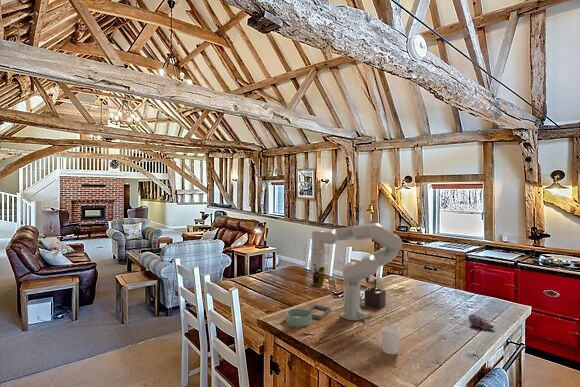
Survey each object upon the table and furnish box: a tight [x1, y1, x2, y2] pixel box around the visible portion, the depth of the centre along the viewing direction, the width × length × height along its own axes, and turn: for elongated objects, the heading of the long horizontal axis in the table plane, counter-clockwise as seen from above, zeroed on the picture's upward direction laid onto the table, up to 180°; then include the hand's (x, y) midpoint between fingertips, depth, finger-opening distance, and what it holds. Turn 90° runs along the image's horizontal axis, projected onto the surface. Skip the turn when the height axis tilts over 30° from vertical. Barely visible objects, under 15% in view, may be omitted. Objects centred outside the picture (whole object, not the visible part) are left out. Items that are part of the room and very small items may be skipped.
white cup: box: [381, 325, 400, 355], centre depth 148 cm, size 8×8×10 cm
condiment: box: [306, 266, 326, 290], centre depth 192 cm, size 7×8×12 cm
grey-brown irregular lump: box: [468, 313, 495, 330], centre depth 175 cm, size 12×8×6 cm, turn 40°
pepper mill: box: [363, 277, 387, 309], centre depth 210 cm, size 16×11×18 cm
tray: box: [306, 304, 332, 321], centre depth 193 cm, size 11×15×2 cm
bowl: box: [285, 307, 313, 327], centre depth 181 cm, size 14×14×4 cm
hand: (318, 281), depth 192 cm, fingers closed on condiment, 6 cm apart
